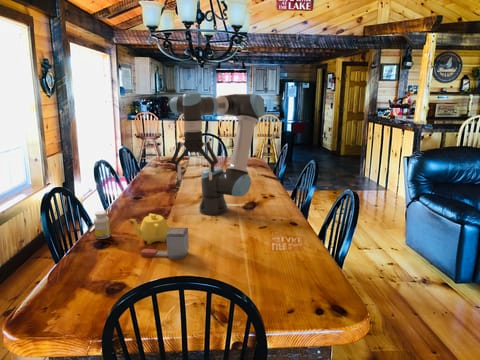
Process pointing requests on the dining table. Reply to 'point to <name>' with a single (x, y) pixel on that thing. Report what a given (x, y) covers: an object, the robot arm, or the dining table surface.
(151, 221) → the teapot
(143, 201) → the dining table surface
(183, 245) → the rimmed grey cube
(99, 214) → the pill bottle
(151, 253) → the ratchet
